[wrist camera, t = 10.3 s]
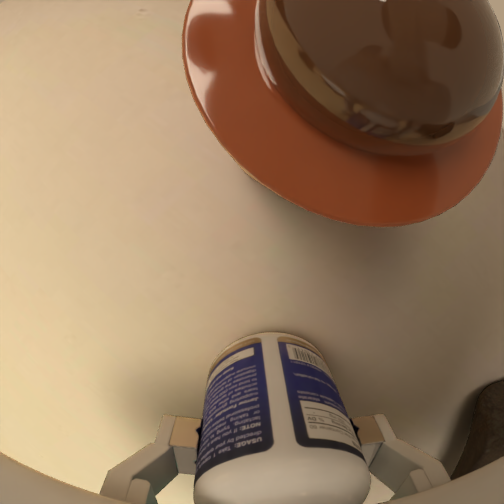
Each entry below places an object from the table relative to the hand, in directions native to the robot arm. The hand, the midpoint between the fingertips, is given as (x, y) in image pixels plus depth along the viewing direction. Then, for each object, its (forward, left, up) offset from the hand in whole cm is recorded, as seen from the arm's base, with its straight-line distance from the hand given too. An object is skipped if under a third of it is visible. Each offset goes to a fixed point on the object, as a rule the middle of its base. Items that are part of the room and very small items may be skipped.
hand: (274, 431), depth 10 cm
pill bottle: (0, 0, -4) cm, 4 cm away
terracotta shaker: (-10, -5, -4) cm, 12 cm away
